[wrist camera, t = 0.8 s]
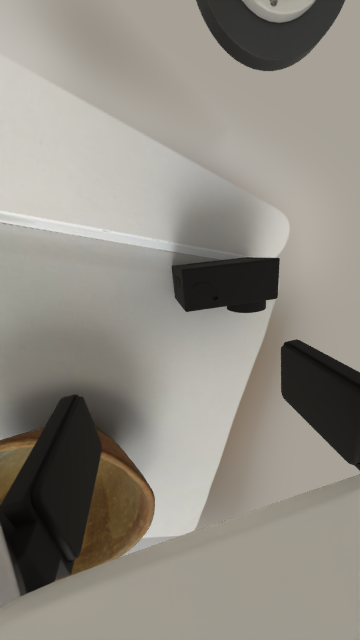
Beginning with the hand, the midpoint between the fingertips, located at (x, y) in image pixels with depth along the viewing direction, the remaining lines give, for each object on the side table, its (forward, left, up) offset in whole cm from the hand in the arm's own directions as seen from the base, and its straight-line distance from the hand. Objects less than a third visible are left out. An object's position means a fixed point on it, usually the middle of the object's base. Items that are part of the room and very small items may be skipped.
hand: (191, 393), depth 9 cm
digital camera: (-3, +7, -19) cm, 20 cm away
